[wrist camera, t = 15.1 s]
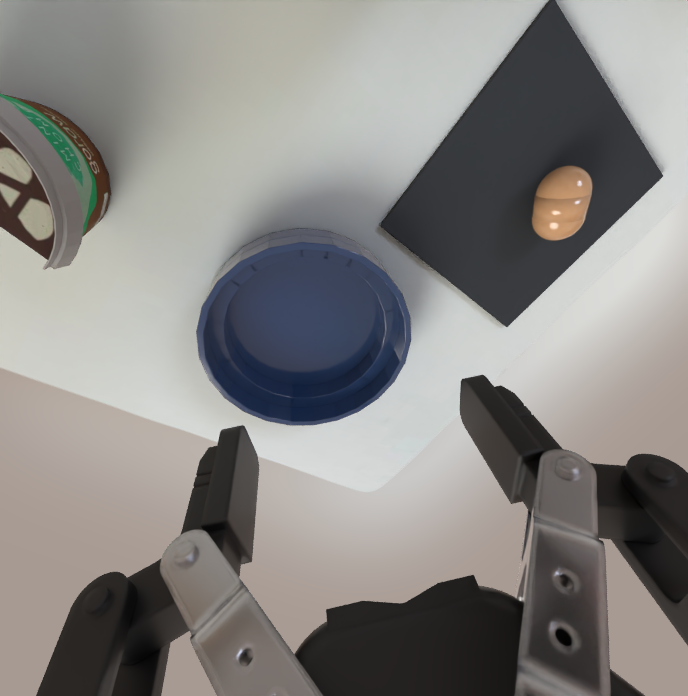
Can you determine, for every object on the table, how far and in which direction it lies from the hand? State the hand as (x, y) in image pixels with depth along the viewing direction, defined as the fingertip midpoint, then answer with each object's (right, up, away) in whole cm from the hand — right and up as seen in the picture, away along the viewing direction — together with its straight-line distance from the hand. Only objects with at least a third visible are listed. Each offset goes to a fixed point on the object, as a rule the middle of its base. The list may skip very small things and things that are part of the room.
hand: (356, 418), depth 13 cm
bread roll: (+17, +16, +20) cm, 31 cm away
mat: (+17, +17, +21) cm, 32 cm away
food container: (-22, +18, +14) cm, 32 cm away
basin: (-5, +5, +25) cm, 26 cm away
